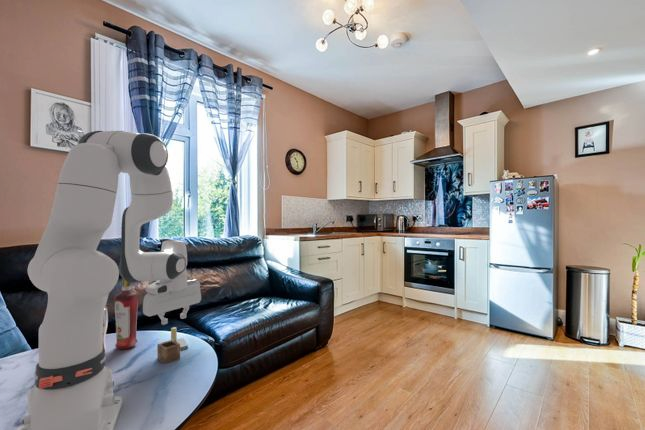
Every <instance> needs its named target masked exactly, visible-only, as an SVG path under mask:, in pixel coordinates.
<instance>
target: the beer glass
mask: <svg viewBox="0 0 645 430" xmlns="http://www.w3.org/2000/svg"><path fill="white" fill-rule="evenodd" d="M108 313H109V311H108V307H107V306H106V307H105V311H104V316H103V348H104V349H105V351H106V350H107V344H106V334H107V330H108V323H109V314H108Z"/></svg>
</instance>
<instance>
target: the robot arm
mask: <svg viewBox="0 0 645 430" xmlns="http://www.w3.org/2000/svg"><path fill="white" fill-rule="evenodd" d="M168 158H169V153H168V149H167V146H166V144H165V143H164V142H163V140H162V139H161V138H160V137H158V136H156V135H155V134H152V133H151V134H150V133H145V132H142V133H139V132H133V131H125V130H108V131H107V130H104V131H103V130H95V131H90V132H87V133H85V134H84V135H82V136H81V138H80V139H79V140H78V143H77V144H75V145H73V146H72V147H71V148H70V149H69V151H68V153H67V155H66V157H65V160H64V162H63V164H62V167H61V170H60V173H59V176H58V179H57V180H58V181H57V183H56V189H55V195H54V198H53V203H52V207H51V208H52V209H51V212H50V216H49V219H48V223H47V225H46V227H45V230H44V232H43V234H42V237H41V238H40V240H39V243H38V245H37V248H36V250H35V253H34V255H33V258H32V259H30V261H29V263H28V267H27V275H28V277H29V280H30V281H31V283H32V284H33V286H35V287H36V288H37V289H39V290H41V291H43V292H46V293H47V304H46V309H45V313H44V317H43V321H42V323H41V324H40V326H39V327H38V362H37V364H36V366H35V371H34V379H35V380H34V381H35V382H34V386H33V387H32V388H31V389H30V390H28V391H27V416H26V417H24V418H23V419H22V425H21V426H19V427H17V428H16V429H15V430H115V427H116V424H117V421H118V418H119V415H120V412H121V408H122V405H123V401H124V400H123V397H122V396H117V395H116V396H115V393H114V385H115V381H114V380H113V369H111V368H109V367H107V366H106V350H105V349H104V348H103V316H104V311H105V307H107V302H108V299H109V296H110V293H111V292H112V291H113V289H114V288H115V287H116V285H117V283H118V281H119V276H120V277H121V278H122V280H123V279H124V280H126V281H127V282H129V283H130V284H131V283H141V282H153V283H151V284H149V285H146V286H145V292H146V294H145V295H144V296H143V303H142V313H143V315H144V316H147V317H153V316H156V315H157V316H158V317H159V319H160V320H161V321H160V322H161V325H162V326H164V325H167V324H168V323H169V321H168V320H169V319H168V318H166V317H164V316H165V314H166V313H167V312H171V311H174V310H179V309H181V308H183V310H182V312H181V313H180V314H179V318H180V320H181V319H182V320H183V319H186V318H187V313H188V311H189V310H190V306H192V305H195V304H199V303H200V302H201V301H202V293H201V292H202V291H201V282H200V280H198V279H195V278H193V279H191V280H189V279H188V271H187V266H188V251H187V246H186V242H185V241H183V240H180V239H167V240H164V241H162V244H161V249H160V251H142V250H141V249H140V239H141V238H140V237H141V236H140V235H141V233H140V232H141V228H142V226H143V225H145V224H147V223H150V222H152V221H155V220H157V219H160V218H161V217H163V216H165V215H166V214H168V212H169V211H170V210H171V209H172V206H173V204H174V203H173V202H174V199H173V196H174V195H173V189H172V183H171V178H170V175H169V171H168V167H167V164H168V163H167V162H168ZM120 173H123V174H128V177H129V189H130V195H131V197H130V200H131V201H130V204H129V206H127V207H126V208H125V209H123V210H124V211H123V212H122V216H121V228H120V229H121V233H120V234H121V236H120V237H121V240H120V245H121V246H120V249H121V250H120V259H119V264H118V263H116V261H115V260H113V259H112V258H111V257H110V256H109V255H107V254H105V253H103V252H101V251H99V250H97V249H98V246H99V244H100V241H101V239H102V238H103V236H104V235H105V233H106V231H107V230H108V229H109V228H110V226H111V224H112V222H113V221H112V220H113V217H114V212H115V211H114V209H115V205H116V198H117V194H118V187H119V175H120ZM118 265H119V266H118Z"/></svg>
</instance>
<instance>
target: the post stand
mask: <svg viewBox="0 0 645 430" xmlns="http://www.w3.org/2000/svg"><path fill="white" fill-rule="evenodd" d="M177 328H178V327H176V326H175V327H171V328H170V340H172V339H173V340H175V341H176V342H177V343H179V344H180V351H183V350H187V349H189V345H188V343H187V342H186V340H185V338H184V337H182V338H178V339H177V334H178V333H177V331H178V329H177Z"/></svg>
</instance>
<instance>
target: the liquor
mask: <svg viewBox="0 0 645 430" xmlns="http://www.w3.org/2000/svg"><path fill="white" fill-rule="evenodd" d="M113 301H114V315H115V316H114V318H115V334H116V343H115V346H114V347H115V348H117V349H119V350H129V349H132V348H133V347H134V346H135V345H136V344H137V343H138V339H137V324H138V322H137V320H138V309H139V308H138V307H139V305H138V304H139V294H138V293H137V292H135V291H132V286H131V283H129V282H127V281H126V280H124V279H123V278H122V284H121V292H120V293H118V294H116V295H115V296H114V300H113Z"/></svg>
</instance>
